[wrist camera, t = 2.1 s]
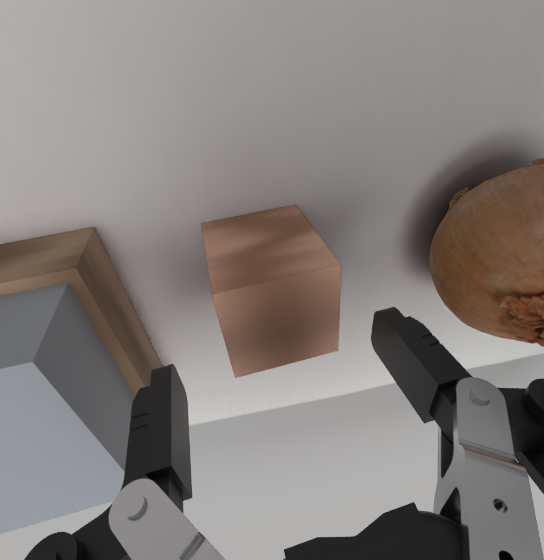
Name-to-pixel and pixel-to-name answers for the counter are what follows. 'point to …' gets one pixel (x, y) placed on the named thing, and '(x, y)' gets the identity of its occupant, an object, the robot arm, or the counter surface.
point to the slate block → (57, 410)
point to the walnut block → (84, 293)
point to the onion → (495, 255)
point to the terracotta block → (272, 288)
